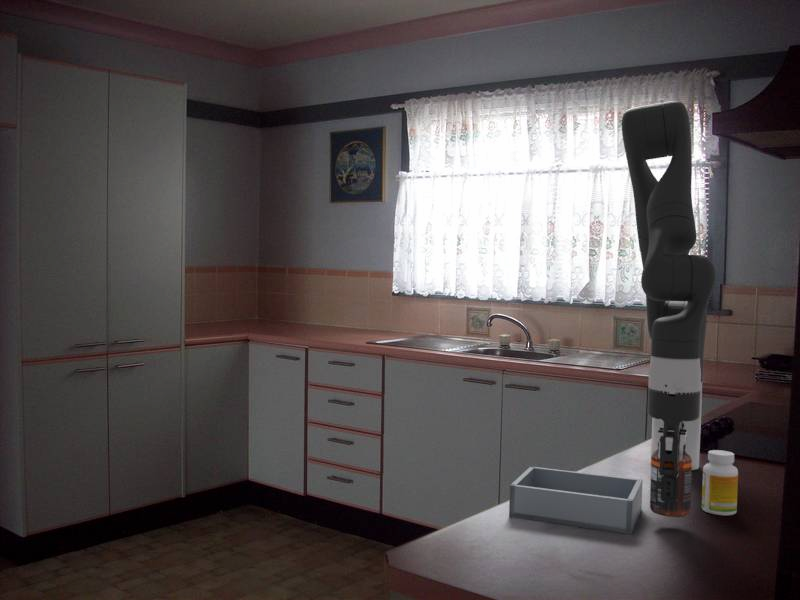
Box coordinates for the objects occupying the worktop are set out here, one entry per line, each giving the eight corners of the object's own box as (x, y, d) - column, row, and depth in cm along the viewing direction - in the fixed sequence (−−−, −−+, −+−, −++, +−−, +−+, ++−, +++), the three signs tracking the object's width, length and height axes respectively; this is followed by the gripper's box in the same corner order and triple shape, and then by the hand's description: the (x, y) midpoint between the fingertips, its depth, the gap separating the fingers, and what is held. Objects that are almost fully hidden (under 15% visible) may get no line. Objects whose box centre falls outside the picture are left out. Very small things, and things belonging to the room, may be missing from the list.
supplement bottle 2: (744, 514, 133) (746, 455, 133) (718, 517, 131) (720, 457, 131) (719, 505, 138) (722, 447, 138) (694, 508, 136) (696, 449, 136)
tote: (529, 495, 141) (530, 466, 141) (641, 509, 134) (642, 479, 134) (509, 516, 129) (510, 485, 128) (631, 534, 122) (632, 501, 121)
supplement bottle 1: (688, 508, 127) (691, 436, 127) (691, 520, 122) (694, 445, 121) (648, 504, 129) (651, 433, 128) (649, 516, 123) (652, 441, 123)
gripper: (652, 378, 132) (649, 481, 133) (643, 391, 119) (639, 505, 120) (702, 381, 129) (698, 486, 130) (698, 395, 116) (694, 512, 117)
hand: (670, 495), depth 125 cm, fingers closed on supplement bottle 1, 6 cm apart
